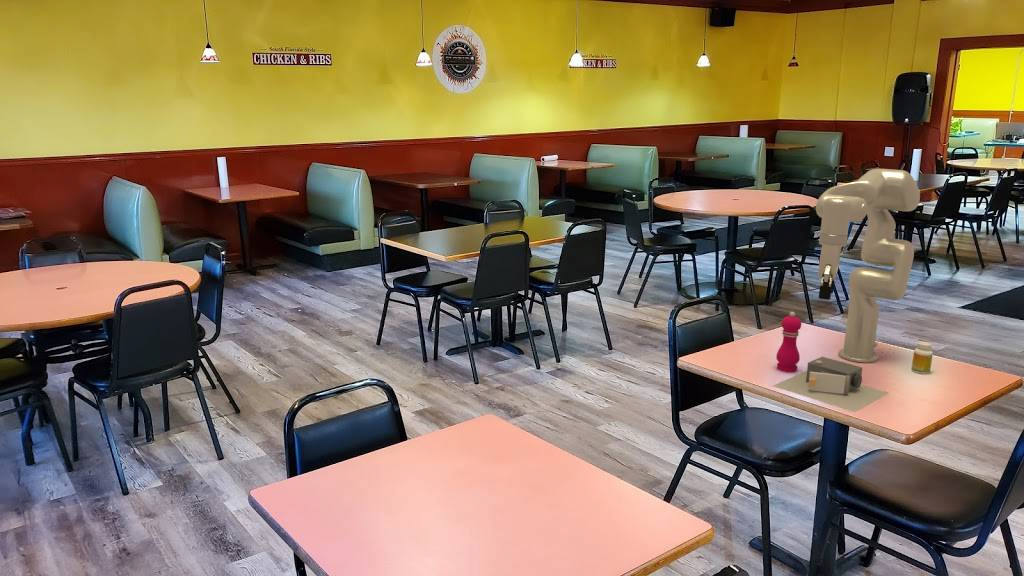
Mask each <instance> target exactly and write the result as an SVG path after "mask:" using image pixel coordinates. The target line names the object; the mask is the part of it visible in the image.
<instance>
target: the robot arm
mask: <svg viewBox="0 0 1024 576" xmlns="http://www.w3.org/2000/svg"><path fill="white" fill-rule="evenodd" d="M920 199H921V191H920V189H919V187H918V185H917V183H916V181H915V179H914V177H913V176H912V175H911V173H909V172H908V171H906V170H903V169H890V168H873V169H870V170H868V171H866V173H865V174H863V175H862V176H860V178H859V179H857V180H856V181H852V182H847V183H844V184H840V185H839V184H838V185H835V186H832V187H829V188H827V189H826V190H825V191H824V192H823V193H822V194H821V195H820V196H819V197H818V199H817V201H816V204H815V211H816V215H817V216H818V217H819V218H821V224H820V232H819V240H818V241H819V242H818V244H819V245H821V251H820V255H819V256H820V257H819V262H818V263H819V264H818V269H817V270H818V271H817V276H816V277H817V278H818V279H820V278H821V281H820V285H819V292H818V299H821V300H827V301H829V300H831V296H832V294H833V293H834V288H835V279H836V277H837V273H838V270H839V266H840V261H841V254H842V248H843V247H847V244H848V243H847V242H848V234H849V233H848V232H849V228H850V227H849V226H850V223H858V222H860V221H862V220H863V219H865V217H866V216H867V227H866V231H865V235H864V238H863V243H862V247H861V251H860V252H861V253H860V258H861V260H862V261H863V263H866V264H869V265H873V266H881V267H887V268H888V267H889V268H892V269H893V270H886V269H881V268H875V267H869V266H859V267H856V268H854V269H852V271H850V274H849V277H848V287H849V290H848V291H849V301H848V302H849V303H848V309H847V310H848V312H847V320H846V327H845V335H844V336H845V337H844V343H843V344H844V345H843V348H840V349H839V350H838V351H837V352H838V353H837V354H838V356H839V357H840V358H842V359H844V360H847V361H850V362H851V361H852V362H856V363H864V364H865V363H866V364H867V363H868V364H869V363H874V362H877V361H878V360H879V355H878V354H877V353H876V352H875V348H877V346H878V343H877V342H876V339H877V331H878V324H879V323H878V322H879V315H880V307H879V305H878V302H877V300H876V299H875V298H877V299H882V300H883V299H884V300H890V301H900V300H902V299H903V297H904V295H905V293H906V290H907V286H908V282H909V279H910V275H911V270H912V266H913V262H914V257H915V255H914V254H915V248H914V246H913V244H912V243H911V242H910V241H908V240H905V239H898V238H894V234H895V230H896V221H895V219H894V216H892V215H891V212H890V211H899V212H900V211H901V212H912V211H914V210H915V209H917V207H918V206H919V204H920V201H921V200H920Z"/></svg>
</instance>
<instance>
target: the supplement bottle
mask: <svg viewBox="0 0 1024 576" xmlns="http://www.w3.org/2000/svg"><path fill="white" fill-rule="evenodd" d="M931 349H932V343H930V342H927V341H918V342H917V346H916V348H914V351H913V357H912V364H911V371H912V372H914V373H916V374H922V375H928V374H930V373H931V367H932V361H933V355H934V352H933V351H932V350H931Z"/></svg>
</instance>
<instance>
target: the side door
mask: <svg viewBox="0 0 1024 576" xmlns="http://www.w3.org/2000/svg"><path fill="white" fill-rule="evenodd" d="M849 382H850V376H849V375H846V376H844V375H835V374H827V373H818V372H810V377H809V386H808V389H809V390H817V391H825V392H833V393H841V394H844V395H848V390H849Z"/></svg>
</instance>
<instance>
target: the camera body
mask: <svg viewBox="0 0 1024 576" xmlns="http://www.w3.org/2000/svg"><path fill="white" fill-rule="evenodd" d="M806 371H807V376H806V382H808V383H809V377H810V372H818V373H827V374H835V375H844V376H846V375H849V376H850V382H849V390H848V393H849V392H851V391H853V390H855V389H857V388H859V387H860V385H862V381H863V376H862V374H863V367H862V366H858V365H854V364H851V363H847V362H844V361H841V360H836V359H832V358H830V357H825V356H820V357H818V358H816V359H813V360H810V361H809V362H807V367H806Z"/></svg>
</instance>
